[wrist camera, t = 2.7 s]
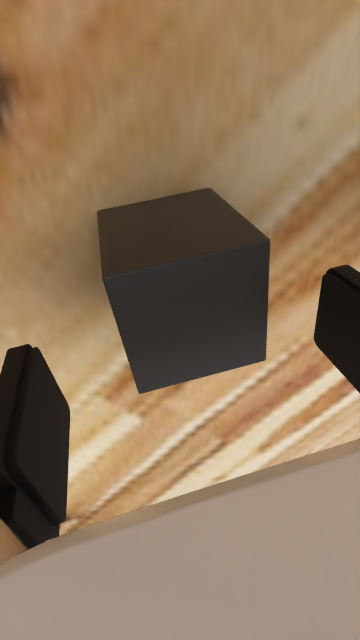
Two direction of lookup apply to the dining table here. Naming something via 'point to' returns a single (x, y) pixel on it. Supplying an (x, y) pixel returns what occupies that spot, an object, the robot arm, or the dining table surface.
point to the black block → (185, 286)
